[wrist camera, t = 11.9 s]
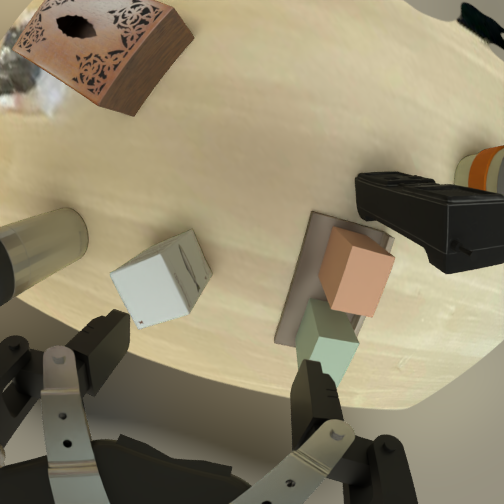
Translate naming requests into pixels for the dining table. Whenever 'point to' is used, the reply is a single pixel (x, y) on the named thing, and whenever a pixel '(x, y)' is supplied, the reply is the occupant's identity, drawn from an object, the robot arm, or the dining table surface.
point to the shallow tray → (308, 270)
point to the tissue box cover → (106, 47)
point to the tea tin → (326, 339)
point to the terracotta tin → (354, 272)
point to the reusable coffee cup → (482, 171)
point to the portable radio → (437, 218)
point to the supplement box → (163, 280)
